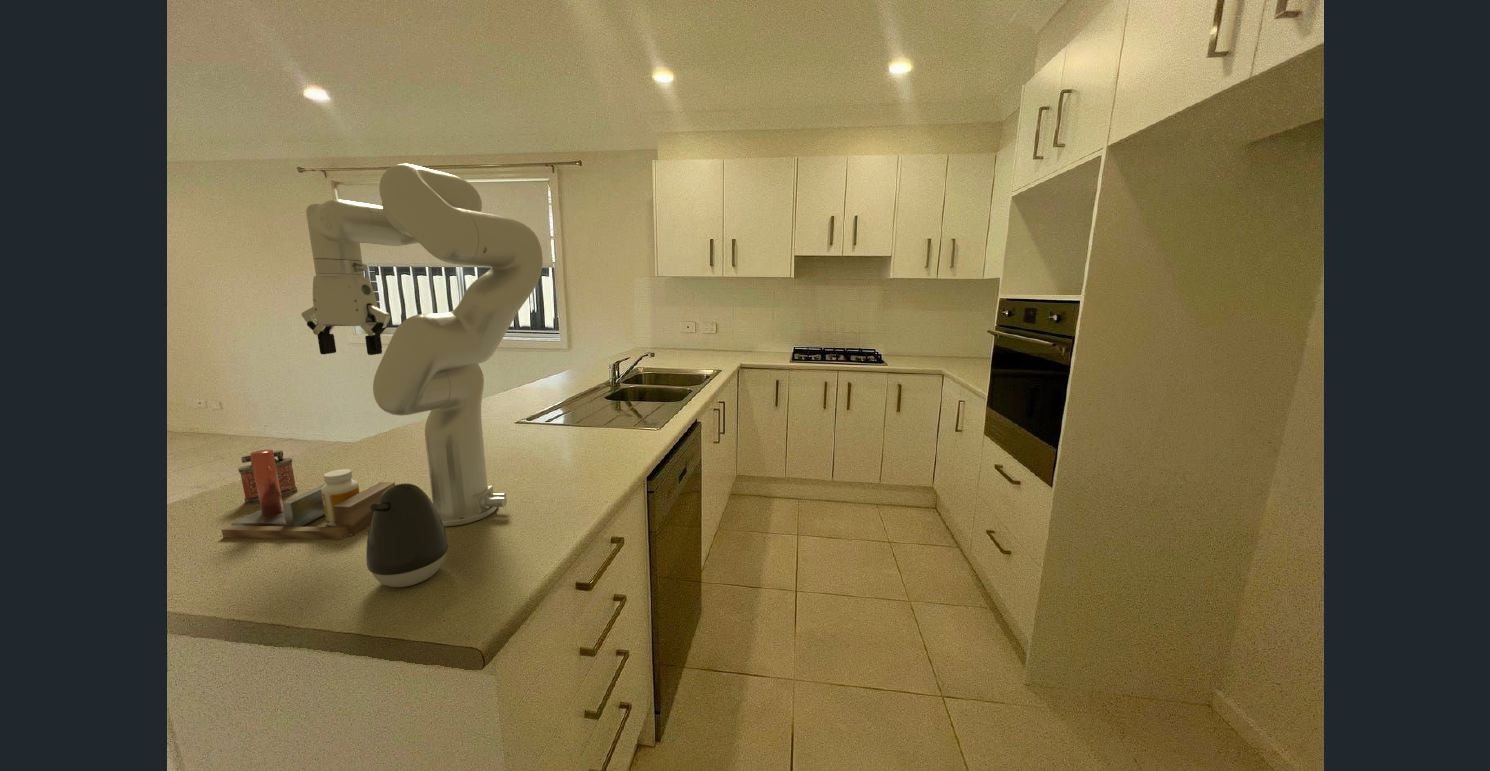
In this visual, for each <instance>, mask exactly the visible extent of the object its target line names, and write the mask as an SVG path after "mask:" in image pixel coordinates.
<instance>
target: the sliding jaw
mask: <svg viewBox="0 0 1490 771" xmlns="http://www.w3.org/2000/svg"><path fill="white" fill-rule="evenodd" d="M273 451H274V450H273V449H261V450H256V451H253V452H251V453H249V455H251V462H252V466H253V471H254V476H255V481H256V486H257V492H258V497H259V502H258V503H259V506H260V509H259V510H257V511H255V512H252V513H249V514H247V515H245V516H243V517H241V518H239V519H237V520H234V521H232V522H230V526H288V527H305V526H306V525H307V524H309V523H312V522H314V521H316V520H317V519H319V518H321V517H322V516H325V511H324V505H323V499H322V493H321V489H322V487H323V486H324V485H326V484H327V483H323V484H322V485H320V486H317V487H315V488H313V489H311V490H309V491H306V492H304V493H302V494H299V495H297V497H295V496H294V497H295V498H293V497H292V498H293V499H291V498H289V499H290V500H289V499H287V500H285V501H283V498H282V497H281V491H280V486H279V480H278V475H277V469H276V464H275V459H276V457H274V453H273Z"/></svg>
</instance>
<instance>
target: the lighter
mask: <svg viewBox="0 0 1490 771" xmlns="http://www.w3.org/2000/svg"><path fill="white" fill-rule="evenodd" d="M273 453H274V458H275V464H276V469H277V475H278V480H279V486H280V491H281V497H282V496H283V497H285V496H289V495H293V494H296V493H297V492H299V491H298V487H297V486H296V481H295V474H294V468H293V465H292V463H293V458H292V457H285V458H284V451H283V450H282V449H279V450H273ZM249 462H250V464H247V465H243V466H240V467H238V469H237V470H238V473H239V474H240V477H241V478H240V479H241V484H242V488H243V493H244V504H245V503H252V504H256V503H255V502H257V503H260V502H259V497H258V492H257V486H256V481H255V476H254V471H253V466H252V461H251V455H250V454H247V455H243V456H242V457H241V463H242V464H246V463H249Z"/></svg>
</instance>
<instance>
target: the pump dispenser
mask: <svg viewBox="0 0 1490 771" xmlns="http://www.w3.org/2000/svg"><path fill="white" fill-rule="evenodd" d="M370 510H371V511H374V512H373V515H372V519H371V522H370V526H368V533H367V539H366V548H365V549H366V550H365V551H366V554H365V559H366V560H365V561H366V562H365V563H366V567H367V569H368V571H369V572H370V573H371V574H372V576H373V577H374V578H375V579H376V580H377V581H378V582H379V583H380V584H382V585H384V586H387V587H390V588H404V587H409V586H413V585H417V584H420V583H422V582H424V581H426V580H427V579H430V578H431V577H432V576H433V575H435V573H437V572H438V571H439V569H440V568H441V567H442V565H443V564H444V561H445V559H446V554H447V552H448V550H449V541H448V537H447V536H448V535H447V532H446V529H445V526H443V523H442V521H441V518H440V516H439V514H438V512H437V510H436V508H435V506H434V505H433V501H432V500H431V498H430V497H429V496H428V494H427V493H426V492H425V491H424V490H423V489H421V488H420V487H419V486H417V485H416V484H413V483H408V482H407V483H404V482H403V483H397V484H395V485H394V486H392V487H390V488H389V489H387V490H386V491H385V492H384V493H383V494H382V495H381V497H380V499H379V500H378V502H377V503H375V504H372V505H371V506H370Z"/></svg>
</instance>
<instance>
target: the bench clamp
mask: <svg viewBox="0 0 1490 771" xmlns="http://www.w3.org/2000/svg"><path fill="white" fill-rule="evenodd" d="M394 485H396V483H395V482H388V481H387V482H386V481H385V482H381V481H379V482H377V483H376V484H374V485H371V486H370V487H368V488H366V489H364V490H363V491H361V492H360V491H359V493H358V494H356V495H354V496H352V497H350V498H348V499H347V500H345V501H343V502H341V503H339V504H337V505H335V506H333V509H334V516H335V522H336V526H302V527H288V526H231V525H229V526H227V527H225V528H222V529H221V535H222V537H223V539H225V538H226V539H229V538H230V539H231V538H232V539H238V538H239V539H240V538H241V539H289V540H290V539H294V540H295V539H297V540H299V539H301V540H302V539H303V540H306V539H307V540H343V539H345V538H346V537H348V536H355V535H357V534H359V533H360V532H361V531H364V530H365V529H366V528H369V527H370V522H371V519H372V515H373V512H374V511H371V510H370V506H371V505H372V504H375V503H377V502H378V500H379V499H380V497H381V495H382V494H383V493H384V492H385V491H386V490H387V489H389V488H390V487H392V486H394ZM297 496H298V495H297ZM297 496H294V497H291V498H289V499H288V500H290V499H293V498H295V497H297Z"/></svg>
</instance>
